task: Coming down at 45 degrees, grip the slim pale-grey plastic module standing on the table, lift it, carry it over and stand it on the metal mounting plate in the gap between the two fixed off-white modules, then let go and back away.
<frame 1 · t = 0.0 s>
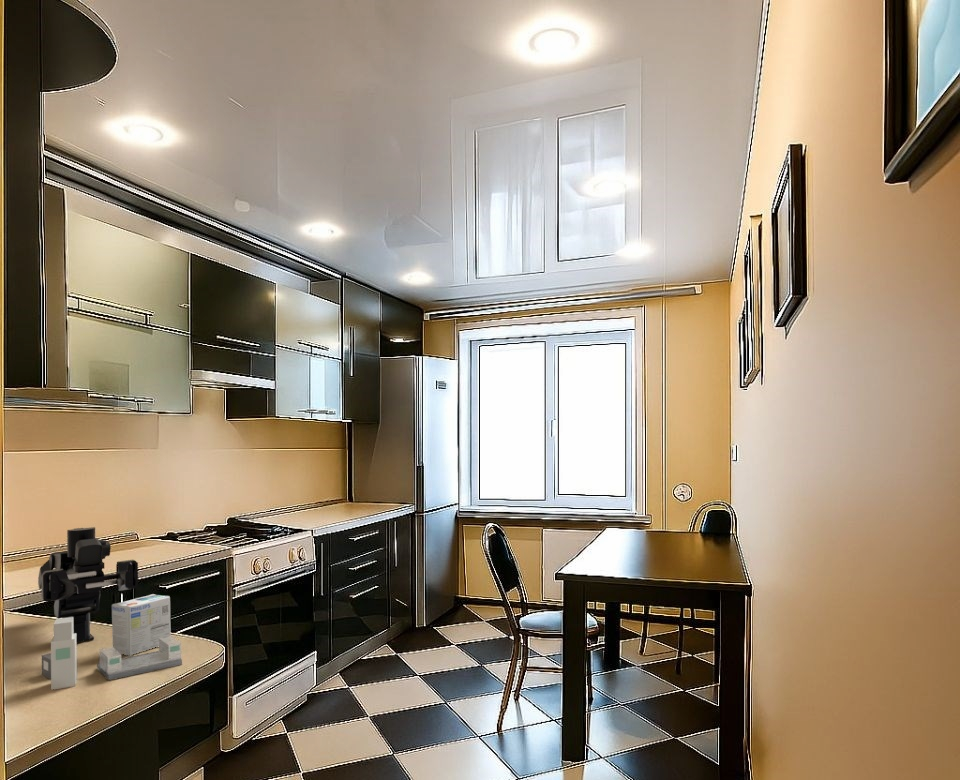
hand: (99, 585, 157), 17 cm above the counter, tool horizontal, fingers open, 9 cm apart
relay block: (56, 674, 151), on the counter
mounting plate: (139, 666, 154), on the counter
light bulb box: (142, 648, 168), on the counter
module: (64, 684, 145), on the counter
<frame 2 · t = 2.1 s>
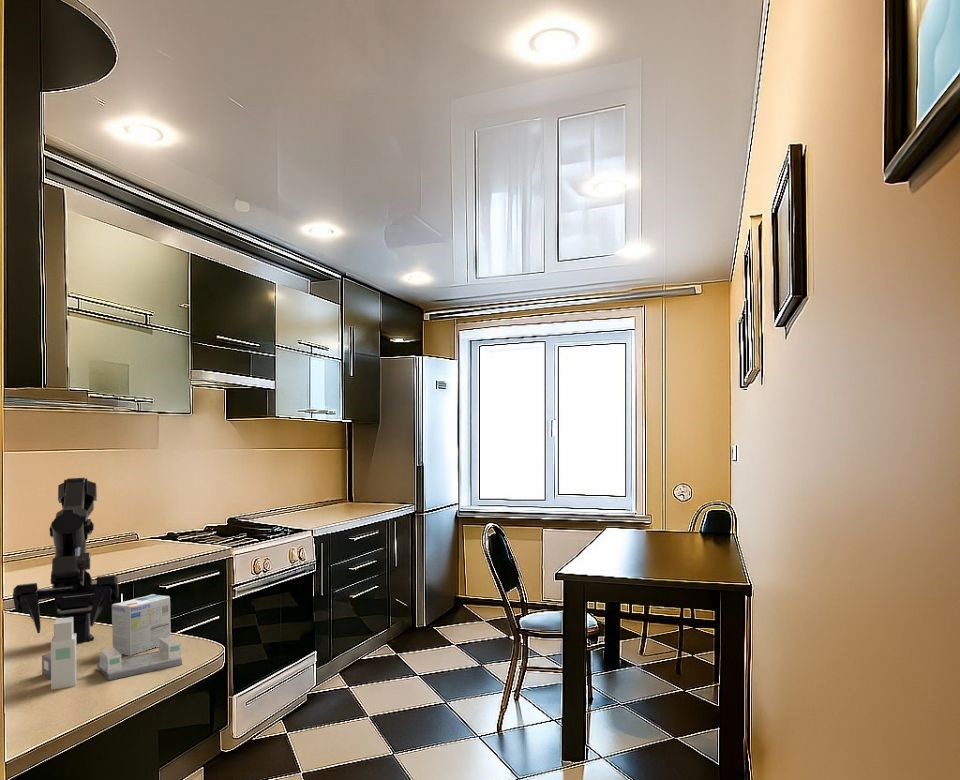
hand: (65, 628, 148), 10 cm above the counter, tool tilted 45°, fingers open, 9 cm apart
nothing on the counter moved.
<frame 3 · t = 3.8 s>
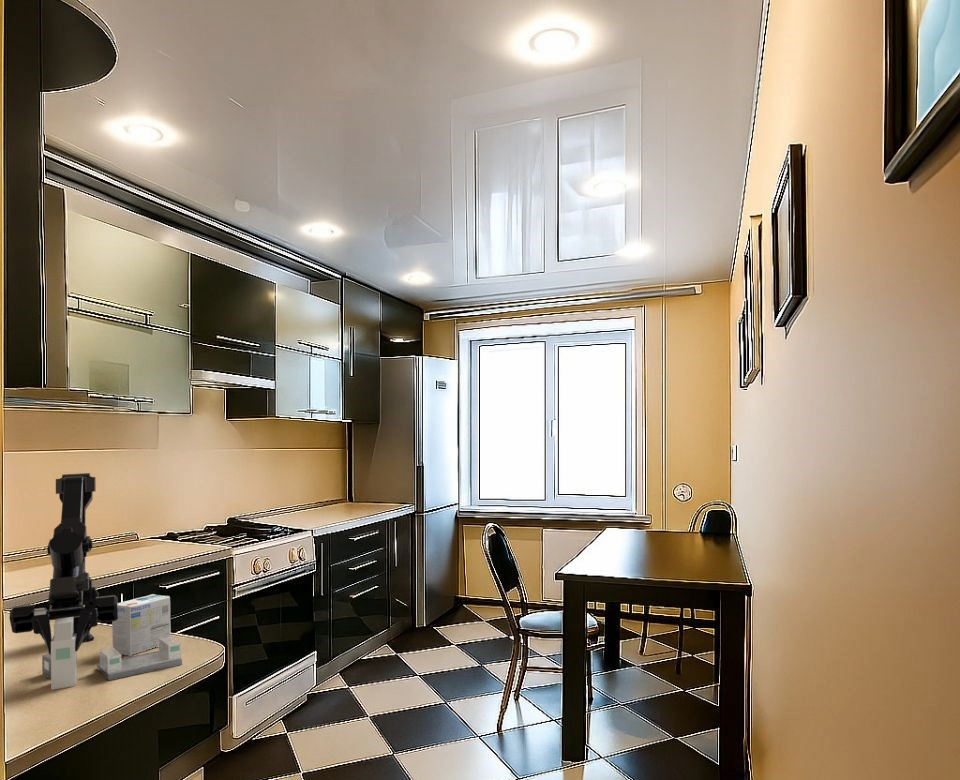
hand: (63, 651, 144), 7 cm above the counter, tool tilted 45°, fingers closed on module, 4 cm apart
module: (64, 684, 145), on the counter, touching gripper
everything else where it was.
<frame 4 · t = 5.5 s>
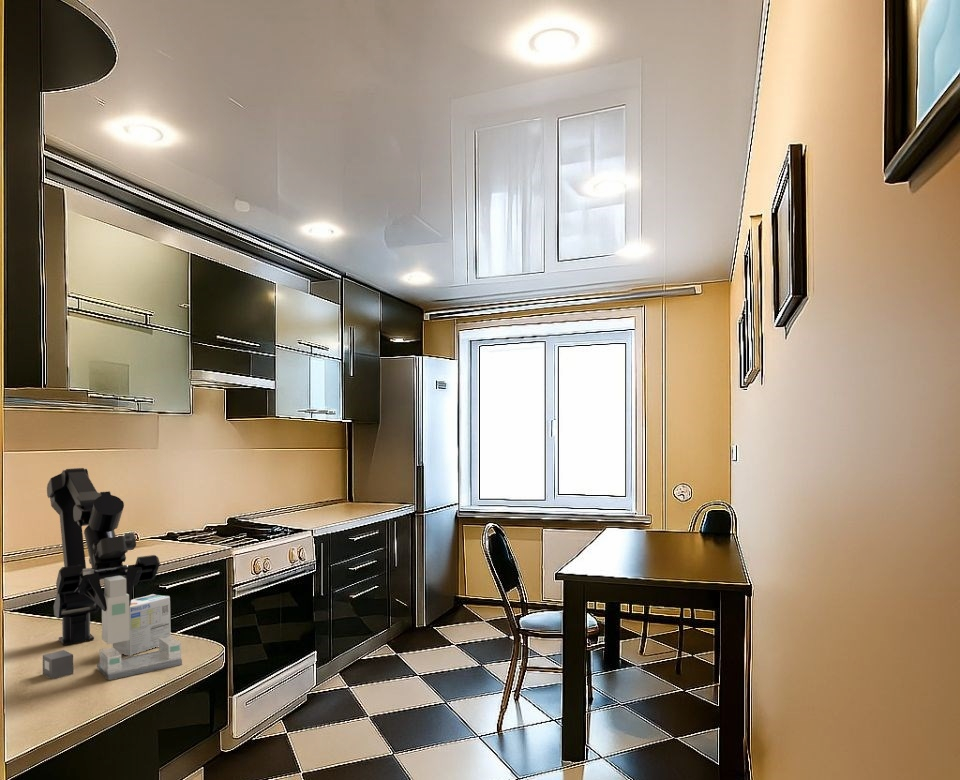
hand: (117, 607, 150), 13 cm above the counter, tool tilted 45°, fingers closed on module, 4 cm apart
module: (115, 639, 150), point 7 cm above the counter, touching gripper
everything else where it was.
when the fingers open (8 cm above the counter, at t = 7.3 s): module stays where it is, resting on mounting plate.
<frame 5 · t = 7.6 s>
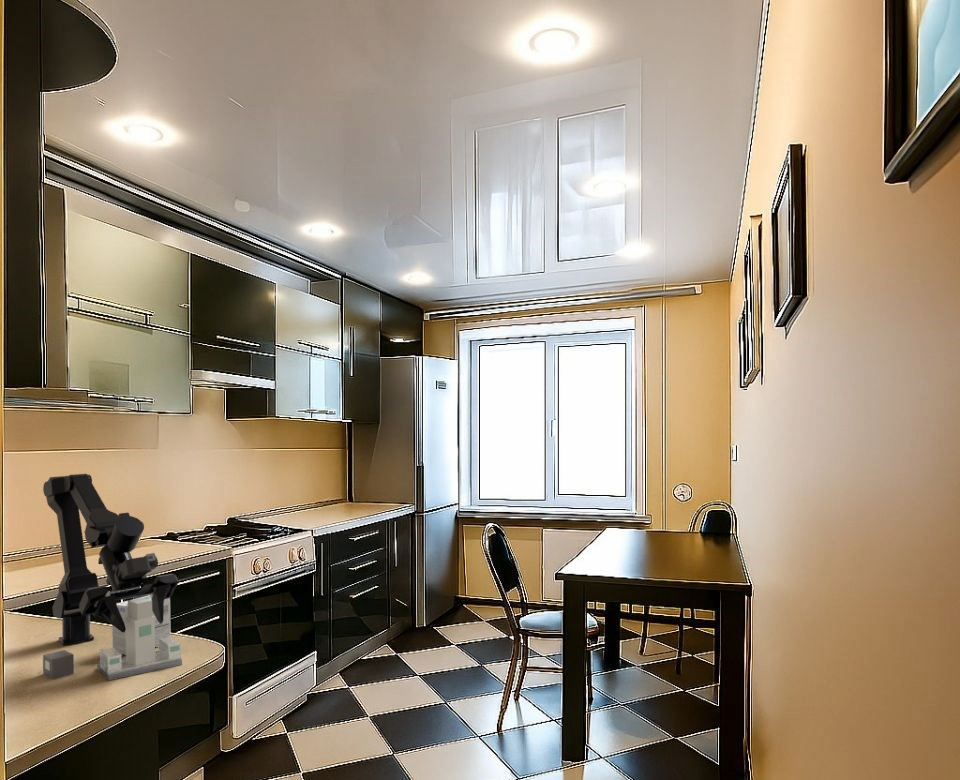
hand: (143, 626, 153), 9 cm above the counter, tool tilted 45°, fingers open, 7 cm apart
module: (140, 660, 154), point 1 cm above the counter, touching mounting plate
everything else where it was.
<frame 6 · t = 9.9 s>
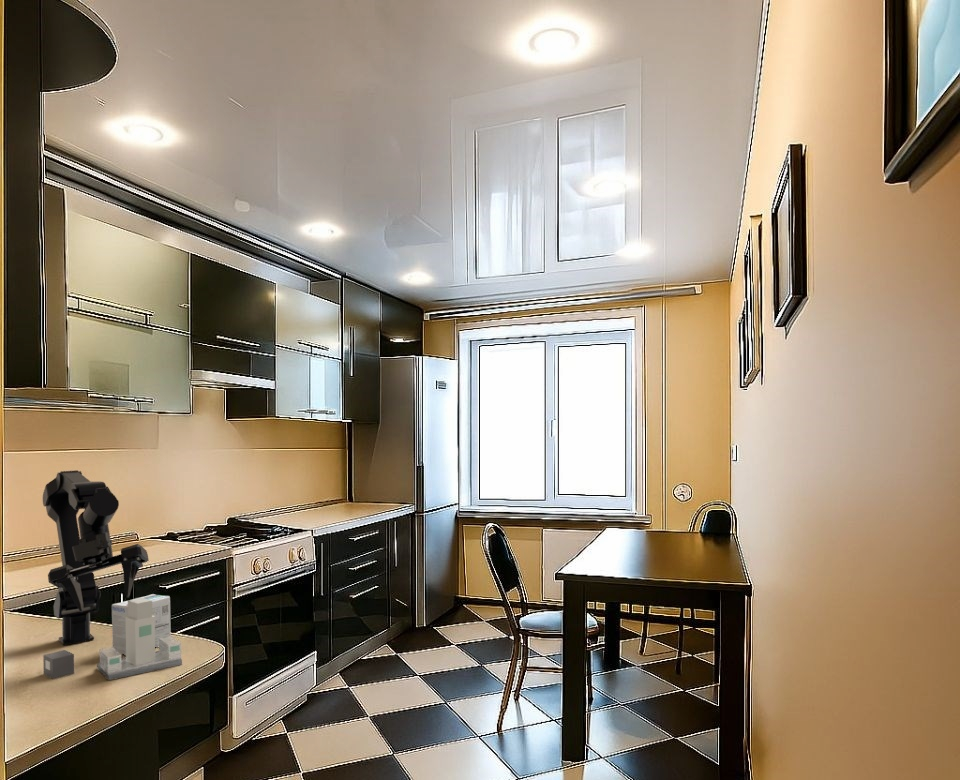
hand: (104, 604, 157), 12 cm above the counter, tool tilted 30°, fingers open, 9 cm apart
nothing on the counter moved.
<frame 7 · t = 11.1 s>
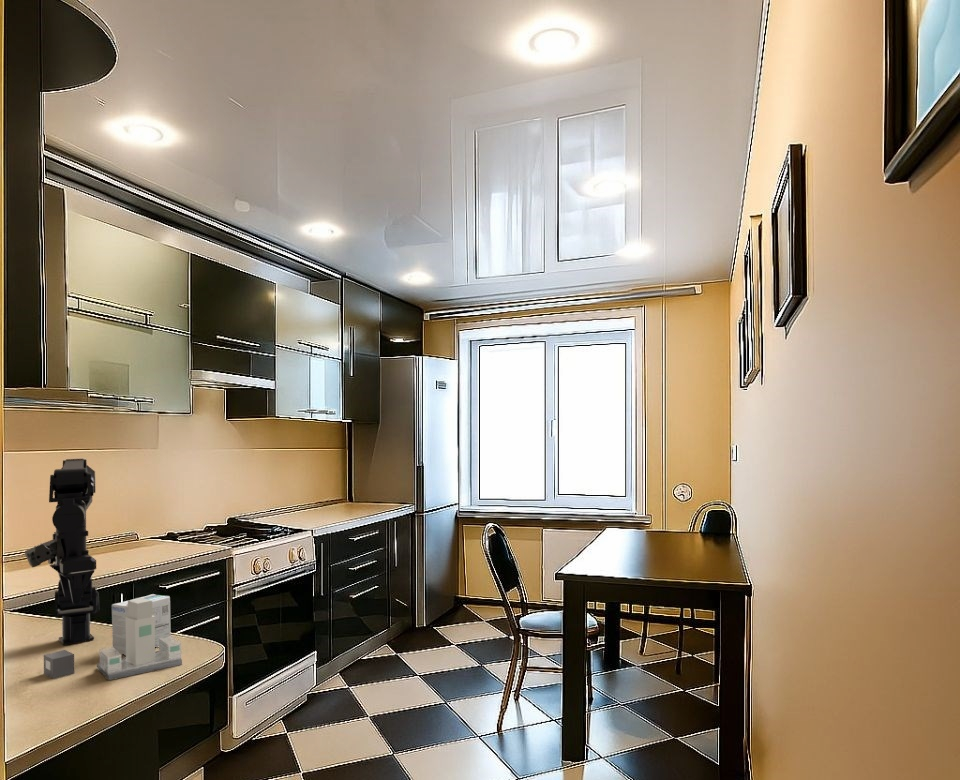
hand: (71, 600, 160), 13 cm above the counter, tool pointing down, fingers open, 9 cm apart
nothing on the counter moved.
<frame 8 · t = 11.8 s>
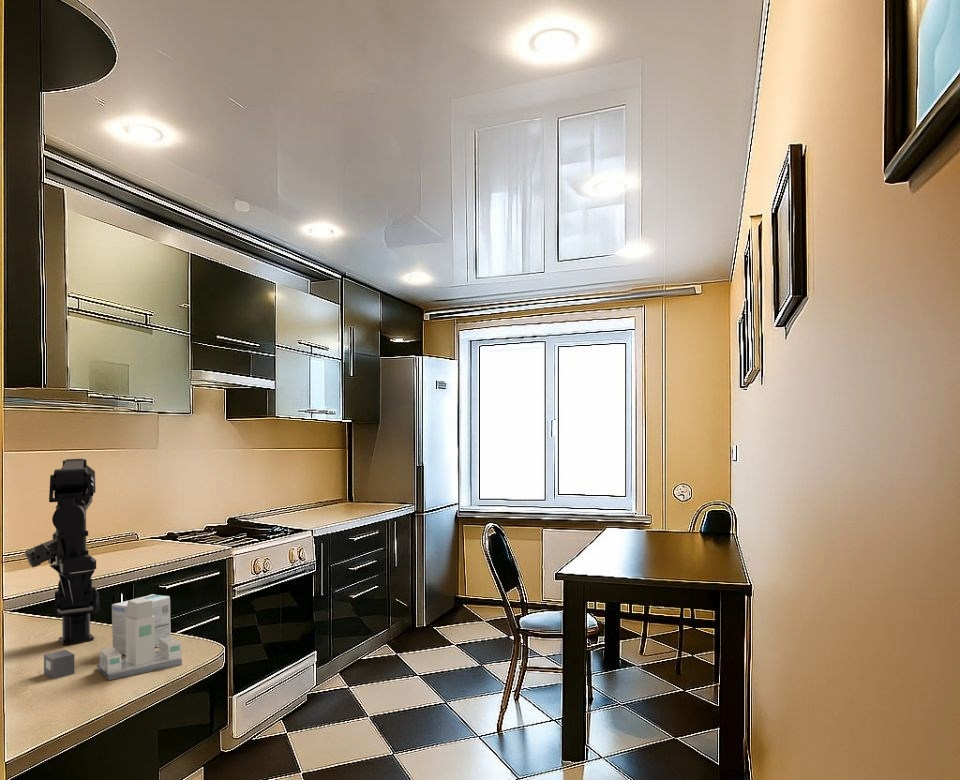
hand: (71, 600, 160), 13 cm above the counter, tool pointing down, fingers open, 9 cm apart
nothing on the counter moved.
at the end: module inside the target area (0.0 cm from its centre), point 1.4 cm above the counter; module tilted 0°; the gripper is holding nothing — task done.
